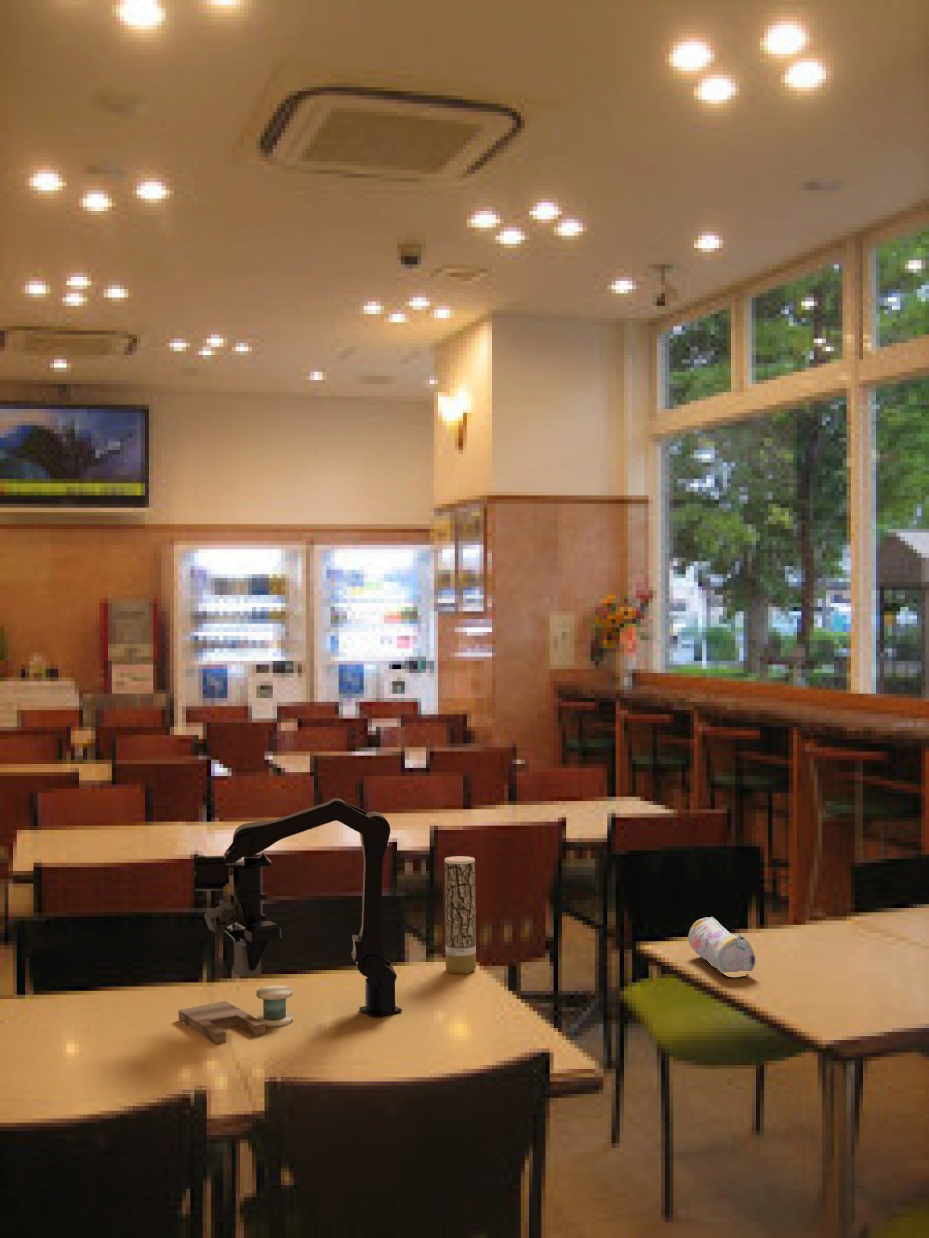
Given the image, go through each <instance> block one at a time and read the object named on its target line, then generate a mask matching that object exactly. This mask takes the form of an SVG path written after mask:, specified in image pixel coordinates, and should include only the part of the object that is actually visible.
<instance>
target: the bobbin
mask: <svg viewBox="0 0 929 1238" xmlns="http://www.w3.org/2000/svg"><path fill="white" fill-rule="evenodd" d="M255 995H256V998H258V999H260V1000H262V1001H263V1002H262V1005H263V1007H262V1011H263V1013H261V1014H259V1015H257V1016H256V1019H258V1020H260V1021H261V1022H263V1023H265V1028H266V1027H267V1028H277V1027H279V1028H280V1027H283V1026H284V1027H285V1026H287V1025H290V1024H291V1023H293V1019H294V1017H293V1016H294V1015H293V1014H292V1013H289V1012H287V998H291V997H292V996H293V988H292V987H290V986H286V985H269V986H263V987H260V988H259V989H257V990H256V994H255Z"/></svg>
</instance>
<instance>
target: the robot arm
mask: <svg viewBox="0 0 929 1238" xmlns="http://www.w3.org/2000/svg"><path fill="white" fill-rule="evenodd" d="M335 821H336V822H339V823H341V824H342V825H344V826H347V827H348V828H350V829H351V830H353V831H355V832H357V833H359V836H360V842H361V849H362V853H363V875H362V876H363V879H362V906H361V907H362V908H361V909H362V910H361V926H360V929H359V934H358V935H357V934H352V935H351V936H352V943H353V945H352V950H351V953H350V954H351V957H352V960H353V962H354V963H356V967H357V970H358V971H359V973H360V975H362V976H363V977H366V978H365V987H364V990H365V995H364V996H365V1005H364V1006H359V1007H358V1008H359V1011H361V1012H363V1013H365V1014H367V1015H368V1016H371V1017H374V1018H378V1017H383V1016H384V1017H385V1016H388V1015H393V1014H397V1013H401V1012H403V1009H402V1008H400V1007H399V1006H396V981H397V977H398V976H397V973H396V970H395V969H394V966H393V963H391V962H390V960H388V959H387V958H386V953H385V946H384V941H383V936H382V908H383V907H382V905H383V902H382V900H383V899H382V898H383V878H384V877H383V874H384V873H383V872H384V871H383V870H384V860H385V859H384V858H385V857H386V852H387V849H388V844H389V840H390V835H391V826H390V823H389V822H388V820H387V818H386V817H385V816H384V815H383V814H382V813H380V812H378V811H369V812H367V811H366V810H363V809H361V808H359V807H356V806H355V805H352V804H350V803H347V802H346V801H344V800H343V799H341V798H339V797H336V798H335V797H334V798H331V799H330V800H329V801H327V802H323V803H321V804H317V805H314V806H312V807H309V808H306V809H303V810H300V811H298V812H297V811H296V812H295V813H291V814H288V815H285V816H283V817H279V818H276V819H272V820H259V821H254V822H247V823H246V822H245V823H243V824H241V825H238V826H237V827H236V829H235V830H234V832H233V837H232V842H231V843H230V844H229V846H228V848H227V849H225V852H223V855H203V854H202V855H201V854H199V855H196V857H195V872H194V892H198V891H199V892H200V891H201V892H202V891H204V892H205V891H206V892H208V891H224V889H225V887H227V885H230V868H231V869H232V893H229V895H228V896H227V902H225V903H223V904H221V905H218V906H216V907H215V908H212V909H210V910H209V911H207V912H205V913H203V917H204V919H205V922H206V925H207V928H208V930H209V931H212V932H214V933H216V934H217V933H220V932H224V933H226V934H227V935H229V937H231V938H232V941H233V943H234V942H238V941H242V942H244V943H245V944H246V949H247V957H248V964H249V970H250V971H254V970H255V969H256V967H257V965H258V963H259V961H260V959H261V960H262V956H263V954H264V951H265V949H266V948H267V947H268V944H269V942H270V941H273V940H280V939H281V938H282V928H281V926H279V925H278V924H277V923H275V922H273V921H271V920H267V914H265V913H263V901H265V900H267V893H263V868H264V867H271V866H272V860H271V859H270V858H269V857H268V856H267V855H266V853H265V852H263V851H264V850H267V849H268V848H270V847H271V846H272V845H274V844H276V843H277V842H279V841H281V840H283V839H285V838H289V837H292V836H294V835H297V834H301V833H304V832H306V831H309V830H312V829H315V828H317V827H320V826H324V825H326V824H329V823H332V822H335ZM260 853H261V854H260ZM257 854H260V855H258V856H255V855H257ZM243 858H244V860H243V861H242V860H241V859H243ZM240 860H241V861H240Z"/></svg>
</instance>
